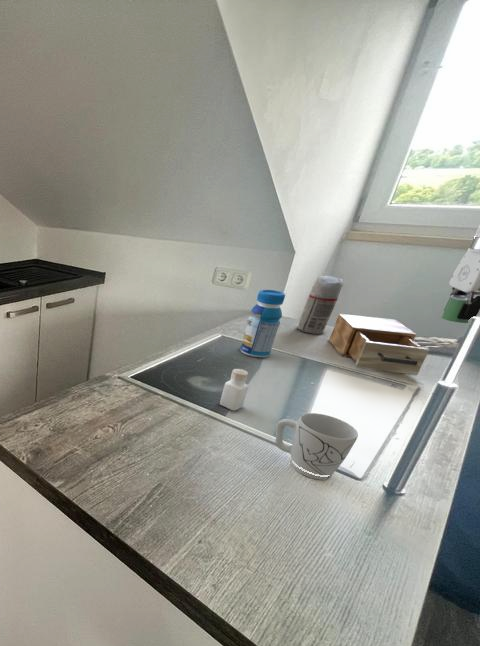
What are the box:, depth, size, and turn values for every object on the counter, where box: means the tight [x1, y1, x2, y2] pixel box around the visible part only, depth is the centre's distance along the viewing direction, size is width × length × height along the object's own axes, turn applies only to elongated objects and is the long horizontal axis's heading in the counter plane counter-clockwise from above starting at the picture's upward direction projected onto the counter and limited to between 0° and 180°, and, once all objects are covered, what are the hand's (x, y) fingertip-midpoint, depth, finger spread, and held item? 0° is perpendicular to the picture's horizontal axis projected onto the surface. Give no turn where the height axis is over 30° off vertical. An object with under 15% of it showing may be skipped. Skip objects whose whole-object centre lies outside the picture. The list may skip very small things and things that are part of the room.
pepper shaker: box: [219, 368, 249, 411], centre depth 93 cm, size 4×4×10 cm
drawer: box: [347, 330, 430, 376], centre depth 112 cm, size 18×13×8 cm
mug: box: [274, 412, 359, 481], centre depth 73 cm, size 11×8×10 cm
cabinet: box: [329, 313, 417, 358], centre depth 123 cm, size 15×15×10 cm
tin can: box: [440, 295, 476, 324], centre depth 102 cm, size 6×6×6 cm
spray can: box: [296, 274, 344, 335], centre depth 139 cm, size 8×8×20 cm
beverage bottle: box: [240, 289, 286, 358], centre depth 120 cm, size 8×8×20 cm
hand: (458, 314), depth 103 cm, fingers closed on tin can, 5 cm apart
